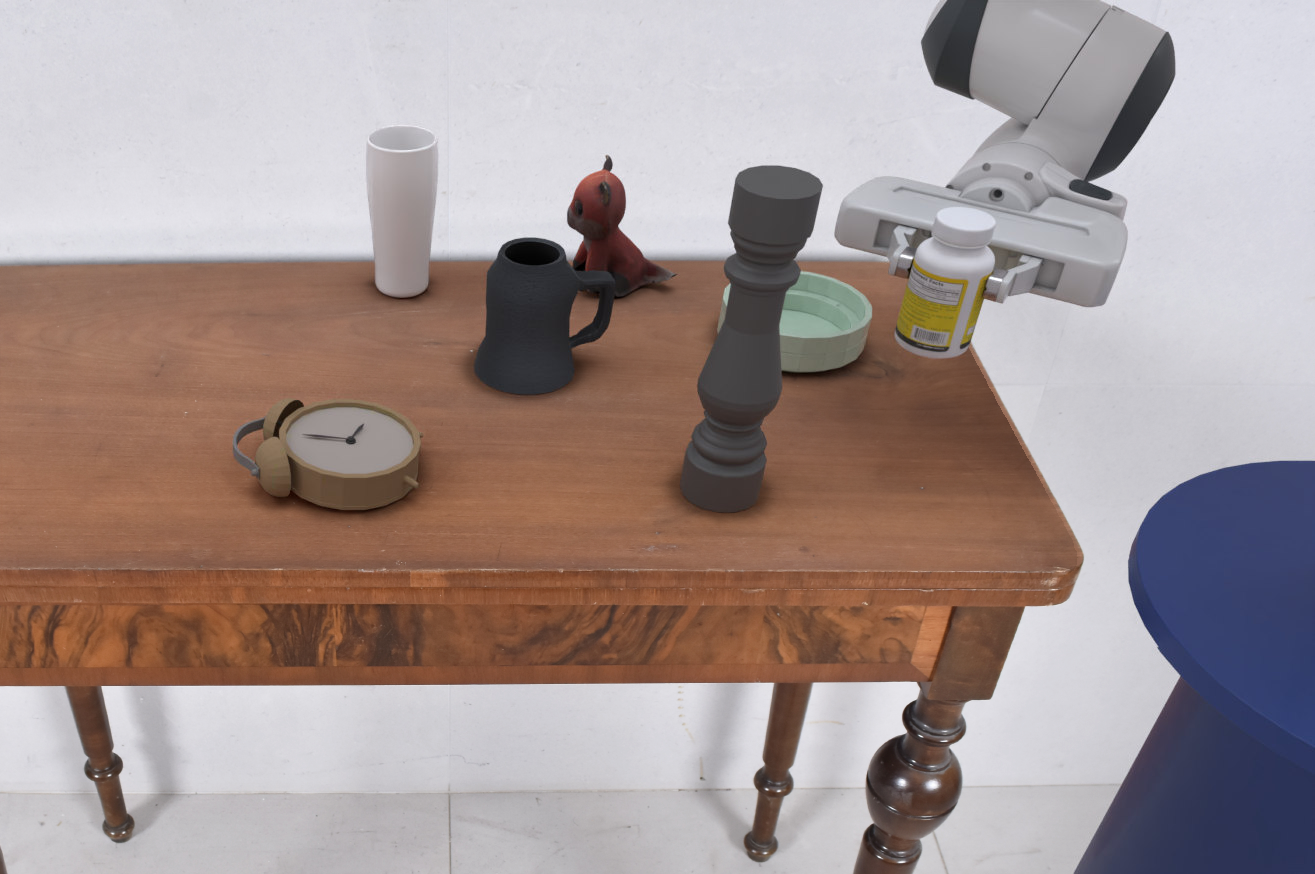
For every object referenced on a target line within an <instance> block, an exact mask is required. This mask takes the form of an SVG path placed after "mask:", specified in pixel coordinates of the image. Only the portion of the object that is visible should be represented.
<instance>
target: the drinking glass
mask: <svg viewBox="0 0 1315 874" xmlns="http://www.w3.org/2000/svg"><path fill="white" fill-rule="evenodd" d="M365 182H366V194H367V204H368V212H369V223H370V230H371V231H370V232H371V240H372V241H371V242H372V250H373V251H372V252H373V253H372V254H373V262H374V263H373V264H374V282H375V283H374V284H375V286H376V288H377V290H378V291H379V292H380V293H382V294H383V295H385V296H389V297H392V298H400V299H401V298H402V299H403V298H412V297H416V296H418V295H420V294H422V293H424V292H425V291H426V290H427V288H428V287H429V283H430V263H431V251H432V241H433V234H434V233H433V232H434V223H435V212H436V203H437V194H438V182H439V138H438V135H437V134H436V133H435V132H434V131H432V130H431V129H428V128H426V127H422V126H418V125H409V124H395V125H393V124H392V125H386V126H382V127H379V128H376V129H374V130H372V131H370V132H369V133H368V135H367V136H366V139H365Z"/></svg>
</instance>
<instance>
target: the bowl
mask: <svg viewBox="0 0 1315 874" xmlns="http://www.w3.org/2000/svg"><path fill="white" fill-rule="evenodd" d="M730 286H731V284H730V283H729V284H728V285H726V287H725V288H724V290H723V294H722V301H721V305H720V312H719V317H718V322H717V330H716V332H717V334H718V333H719V331H720V329H721V326H722V324H723V322H724V320H725V314H726V309H727V303H728V297H729V292H730ZM872 318H873V306H872V304H871V302H870V301H869V300H868V297H866V295H865V294H863V293H862V292H861V291H859V290H858V289H856V288H855V287H854V286H852V285H850V284H848V283H846V282H844V281H841V280H839V279H837V278H835V277H832V276H828V275H824V274H820V273H817V272H811V271H805V270H804V271H803V270H801V273H800V276H799V278H798V281H797V283H796V284H795V285H793V286H792V287H790V288H789V290H788V291H786V295H785V300H784V305H783V310H782V315H781V319H780V324H779V328H780V351H781V371H782V372H788V373H789V372H790V373H817V372H825V371H829V370H835V369H839V368H842V367H845V366H846V365H849V364H850V363H852V362H855V361H856V360H857V359H858V358H859V356H860V355H861V354H862V352H864V350H865V345H866V342H867V338H868V333H869V330H870V326H871V323H872V320H873V319H872Z"/></svg>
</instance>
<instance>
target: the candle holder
mask: <svg viewBox="0 0 1315 874" xmlns="http://www.w3.org/2000/svg"><path fill="white" fill-rule="evenodd" d="M823 188H824V184H823V183H822V181H821V179H820V178H819V177H817V176H816V175H814V174H813V173H812V172H809V171H806V170H802V169H800V168H796V167H792V166H785V165H780V164H779V165H778V164H777V165H775V164H773V165H771V164H770V165H767V164H765V165H763V164H762V165H758V166H757V165H756V166H750V167H747V168H745V169H742V170H741V171H739V172H738V173H737V175H736V177H735V179H734V185H733V190H732V195H731V203H730V207H729V214H728V220H727V224H728V227H729V230H730V233H729V235H730V238H731V240H732V242H733V248H734V250H735V252H734V253H733V254H731V255H729V256H728V257H727V258H726V260H725V261H724V264H723V272H724V274H725V278H726V279H727V280H728V281H729V284H731V286H730V292H729V297H728V303H727V309H726V314H725V320H724V322H723V324H722V326H721V329H720V331H719V333H718V332H717V336H716V337H715V340H714V342H713V344H712V346H711V349H710V351H709V354H708V356H707V357H706V360H705V362H704V364H703V367H702V369H701V371H700V374H699V376H698V379H697V384H696V388H697V389H696V390H697V394H698V397H699V401H700V404H701V406H702V408H703V409H704V410H703V415H704V418H703V419H702V420H701V421H700V422H699V423H697V424H696V425H695V427H694V429H693V431H692V433H691V436H690V438H691V440H690V441H689V443H688V445H687V446H686V449H685V452H684V456H683V457H684V458H683V464H682V470H681V474H680V475H681V476H680V481H679V487H680V491H681V494H682V496H683V497H685V499H686V500H687V501H688V502H689V503H691V504H693V505H695V506H697V507H698V508H701V509H703V510H707V511H711V512H715V513H737V512H742V511H745V510H748V509H749V508H751V507H753V506H754V505H755V504H756V503H757V502H758V499H759V497H760V493H761V489H762V484H763V481H764V476H765V471H766V466H767V461H768V458H767V456H766V453H765V451H766V448H767V446H768V440H767V437H766V434H765V432H764V431H763V430H762V427H761V426H762V425H763V422H764V420H765V418H766V417H768V416H769V415H770V414H771V413H772V412H773V410H774V409H775V408H776V406H777V404H778V402H779V401H780V398H781V395H782V392H783V391H782V390H783V374H782V372H783V371H781V351H780V328H779V324H780V319H781V315H782V310H783V305H784V300H785V295H786V291H788V290H789V288H790V287H792V286H793V285H795V284H796V283H797V281H798V278H799V276H800V273H801V271H802V270H801V268H800V265H799V264H798V262H797V261H796V258H797V256H798V254H799V252H800V251H801V250H803V249H804V248H805V246H806V243H807V241H808V239H809V238H811V237H812V234H813V232H814V230H815V229H814V228H815V225H816V219H817V215H818V211H819V206H820V202H821V197H822V192H823Z"/></svg>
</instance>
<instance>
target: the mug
mask: <svg viewBox="0 0 1315 874" xmlns="http://www.w3.org/2000/svg"><path fill="white" fill-rule="evenodd" d="M566 253H567V252H566V251H565V249H564V247H563V246H562V245H561V244H559V243H557V242H556V241H554V240H551V239H547V238H541V237H533V236H531V237H528V236H527V237H526V236H525V237H518V238H514V239H511V240H508V241H506V242H504V243H503V244H501V246H500V248H499V250H498V251H497V256H496V258H495V260H494V261H493V262H492V264H490V267H489V268H488V270H487V271H486V286H485V311H486V312H485V313H486V315H485V334H484V335H485V336H484V337H483V340H482V341H481V343H480V344H479V346H478V349H477V352H476V356H475V359H474V363H473V368H474V374H475V376H476V377H477V378H478V379H479V380H480V381H481V382H482V383H484V384H485V385H487V386H488V387H490V388H492V389H495V390H498V391H501V392H503V393H508V394H514V395H540V394H546V393H550V392H551V393H552V392H554V391H557V390H559V389H562V388H564V387H565V386H566V385H567V384H569V383H570V382H571V381H572V379H573V378H574V376H575V373H576V371H575V364H574V356H573V349H575V348H577V347H579V346H581V345H585V344H590V343H594V342H596V341H598V340H600V339H601V337H602V336H603V335H604V334H605V333H606V331H607V330H608V328H609V326H610V322H611V319H612V313H613V307H614V300H615V296H614V294H615V280H614V279H613V277H612V276H611V274H610V273H609V272H606V271H594V270H593V271H575V270H574V269H573V265H571V263H570V262H569V261H568V260H567V254H566ZM599 287H600V294H598V295H599V297H598V305H597V311H596V313H595V316H594V317H593V319H592V321H591V323H589V324H587V325H586V326H584V327H583V328H582V329H581V328H580V330H579V331H578V332H577V333H576V334H573V335H571V336H570V331H571V330H570V329H571V327H570V325H571V324H570V322H571V321H570V319H571V313H572V308H573V305H574V303H575V300H576V298H577V295H578V293H579V292H582V293H583V292H584V291H588V289H595V288H599Z"/></svg>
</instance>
